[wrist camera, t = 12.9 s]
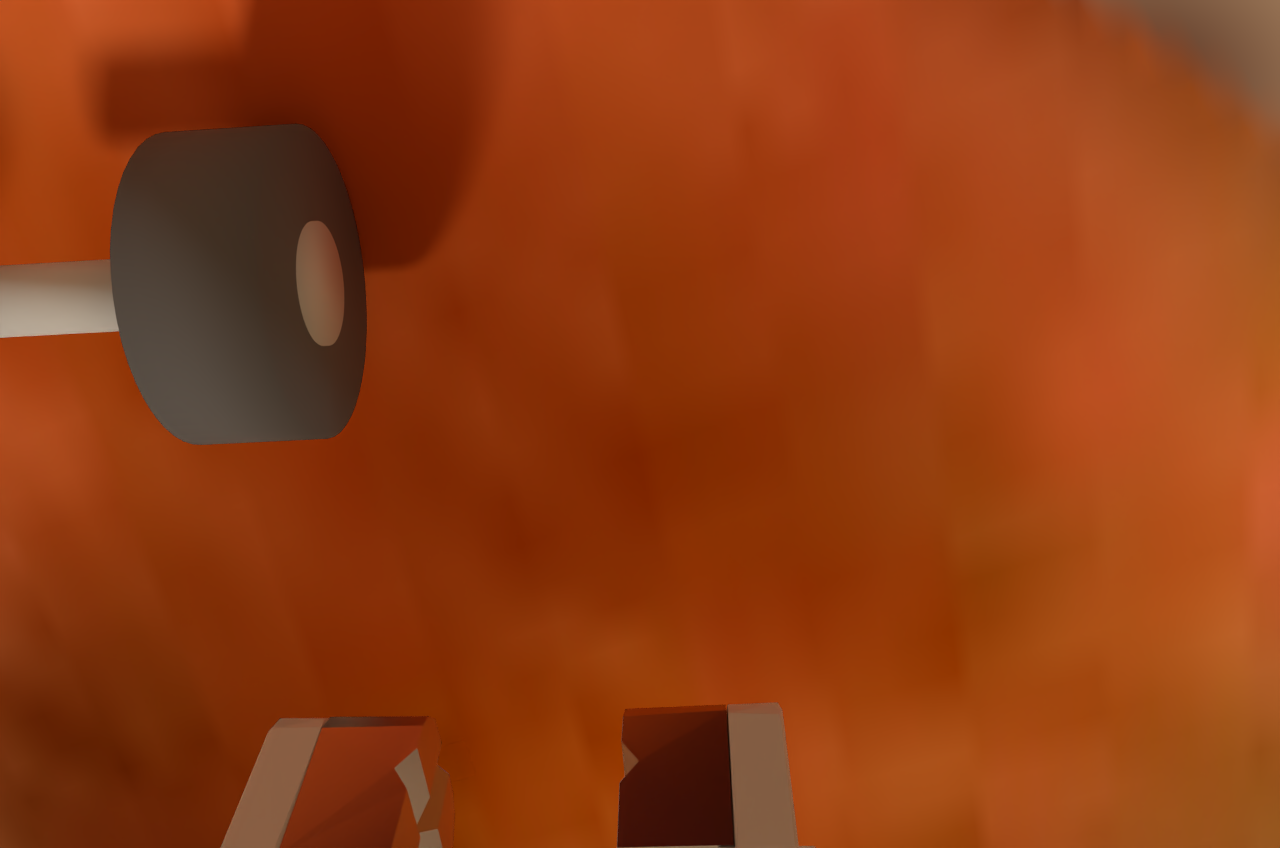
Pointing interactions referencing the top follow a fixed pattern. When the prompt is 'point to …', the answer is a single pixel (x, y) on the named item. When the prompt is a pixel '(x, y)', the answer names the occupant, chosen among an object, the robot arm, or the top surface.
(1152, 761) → the top surface
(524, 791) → the top surface
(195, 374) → the wheel
